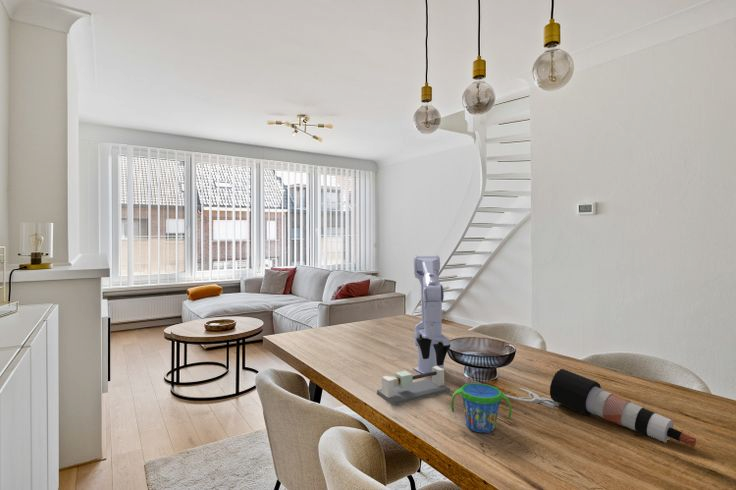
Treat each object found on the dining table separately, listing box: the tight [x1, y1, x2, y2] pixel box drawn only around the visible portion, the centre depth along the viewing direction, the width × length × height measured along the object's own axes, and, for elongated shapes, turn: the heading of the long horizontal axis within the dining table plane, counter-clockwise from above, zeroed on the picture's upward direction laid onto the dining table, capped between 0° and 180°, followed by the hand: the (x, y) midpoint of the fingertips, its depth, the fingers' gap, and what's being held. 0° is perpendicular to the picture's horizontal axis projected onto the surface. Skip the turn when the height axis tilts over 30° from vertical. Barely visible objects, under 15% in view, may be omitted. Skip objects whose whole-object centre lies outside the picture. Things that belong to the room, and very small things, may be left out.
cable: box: [549, 368, 697, 448], centre depth 108 cm, size 10×34×10 cm, turn 35°
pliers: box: [504, 387, 560, 410], centre depth 125 cm, size 10×2×15 cm
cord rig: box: [376, 366, 451, 406], centre depth 130 cm, size 22×10×6 cm, turn 119°
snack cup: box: [450, 382, 513, 434], centre depth 107 cm, size 16×10×10 cm
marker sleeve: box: [394, 370, 414, 389], centre depth 128 cm, size 4×4×4 cm
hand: (432, 361), depth 133 cm, fingers open, 7 cm apart
